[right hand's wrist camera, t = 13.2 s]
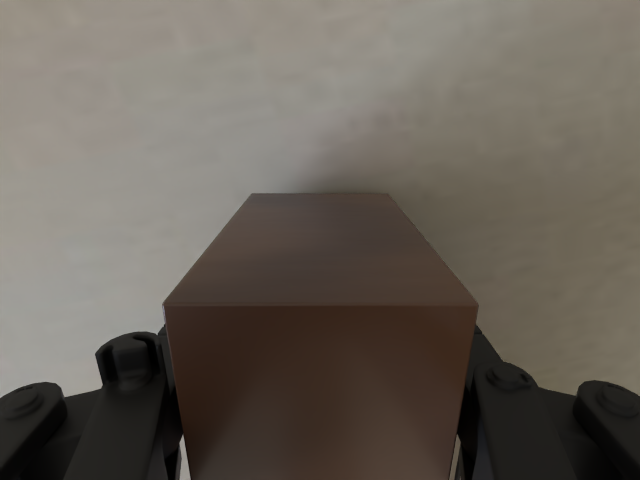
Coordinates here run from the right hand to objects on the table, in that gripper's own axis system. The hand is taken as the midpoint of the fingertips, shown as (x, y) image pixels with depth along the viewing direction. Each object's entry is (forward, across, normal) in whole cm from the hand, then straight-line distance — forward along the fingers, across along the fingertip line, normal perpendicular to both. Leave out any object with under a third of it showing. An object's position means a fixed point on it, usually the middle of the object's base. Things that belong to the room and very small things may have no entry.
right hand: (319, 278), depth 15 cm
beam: (0, 0, +12) cm, 12 cm away
